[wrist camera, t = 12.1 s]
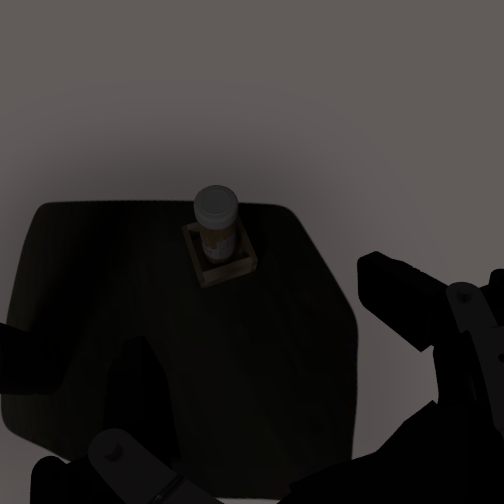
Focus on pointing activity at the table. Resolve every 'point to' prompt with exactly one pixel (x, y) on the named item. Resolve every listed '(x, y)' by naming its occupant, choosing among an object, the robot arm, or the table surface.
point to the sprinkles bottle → (217, 224)
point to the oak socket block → (241, 265)
